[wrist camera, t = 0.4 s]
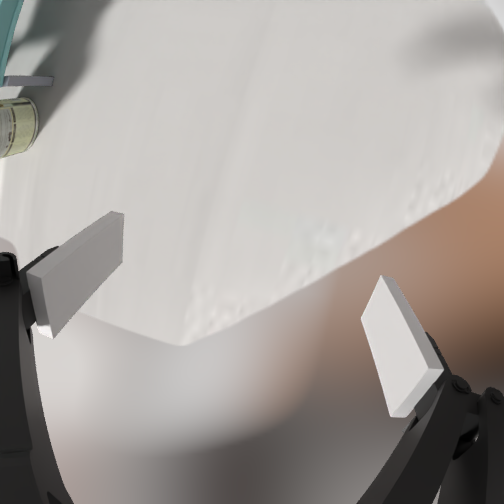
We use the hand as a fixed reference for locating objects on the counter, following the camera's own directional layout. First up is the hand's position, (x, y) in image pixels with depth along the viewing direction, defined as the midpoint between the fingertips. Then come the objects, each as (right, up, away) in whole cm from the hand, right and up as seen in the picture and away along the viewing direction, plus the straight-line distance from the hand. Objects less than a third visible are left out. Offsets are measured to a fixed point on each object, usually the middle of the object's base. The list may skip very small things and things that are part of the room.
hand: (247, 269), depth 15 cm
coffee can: (-40, +23, +24) cm, 52 cm away
